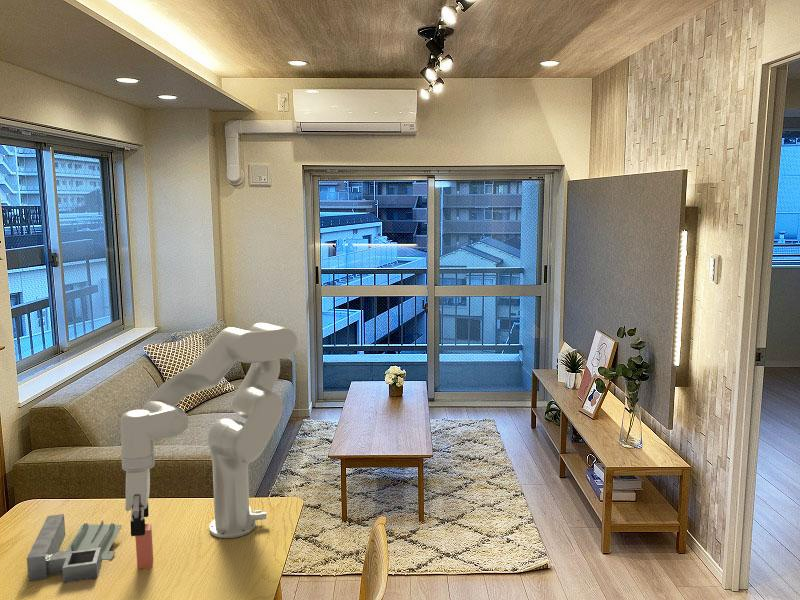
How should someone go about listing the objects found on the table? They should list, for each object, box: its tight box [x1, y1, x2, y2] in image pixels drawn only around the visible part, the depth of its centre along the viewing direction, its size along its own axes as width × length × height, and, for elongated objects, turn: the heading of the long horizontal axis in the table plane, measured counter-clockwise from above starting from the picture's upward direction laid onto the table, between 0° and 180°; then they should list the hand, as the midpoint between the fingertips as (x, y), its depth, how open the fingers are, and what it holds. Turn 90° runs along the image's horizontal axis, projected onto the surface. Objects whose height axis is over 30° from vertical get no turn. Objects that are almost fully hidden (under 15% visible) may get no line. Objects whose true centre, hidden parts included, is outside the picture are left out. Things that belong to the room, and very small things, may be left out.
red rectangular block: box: [134, 523, 154, 570], centre depth 164 cm, size 4×4×10 cm
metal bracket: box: [57, 520, 123, 561], centre depth 172 cm, size 14×6×15 cm
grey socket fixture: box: [26, 513, 103, 584], centre depth 168 cm, size 16×25×6 cm, turn 17°
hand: (140, 525), depth 162 cm, fingers open, 9 cm apart
